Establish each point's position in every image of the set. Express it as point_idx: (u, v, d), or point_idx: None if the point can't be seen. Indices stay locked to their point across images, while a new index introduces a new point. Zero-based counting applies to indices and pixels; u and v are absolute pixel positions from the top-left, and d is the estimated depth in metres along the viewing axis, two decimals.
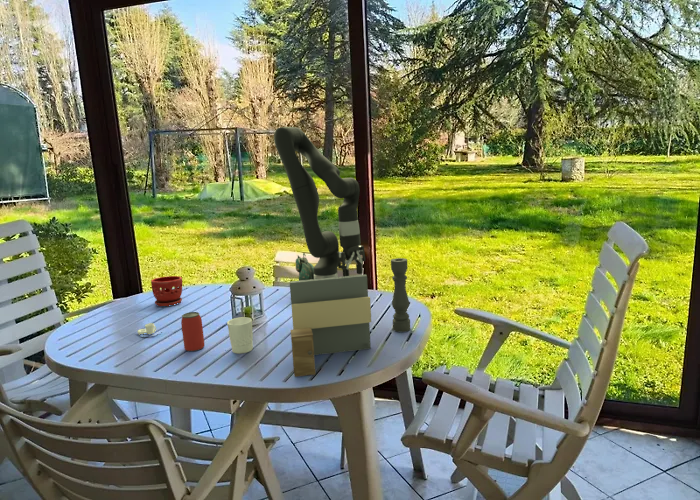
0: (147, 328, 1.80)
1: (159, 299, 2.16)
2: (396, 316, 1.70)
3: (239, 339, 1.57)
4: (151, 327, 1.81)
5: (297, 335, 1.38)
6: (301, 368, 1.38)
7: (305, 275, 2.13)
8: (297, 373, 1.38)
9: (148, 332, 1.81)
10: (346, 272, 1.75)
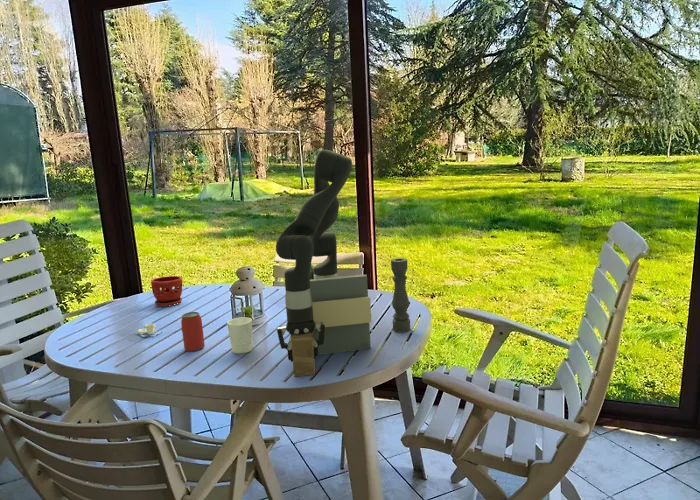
0: (147, 328, 1.81)
1: (159, 299, 2.16)
2: (396, 316, 1.70)
3: (239, 339, 1.57)
4: (151, 327, 1.81)
5: (297, 335, 1.38)
6: (301, 368, 1.38)
7: None
8: (297, 373, 1.38)
9: (148, 332, 1.81)
10: None
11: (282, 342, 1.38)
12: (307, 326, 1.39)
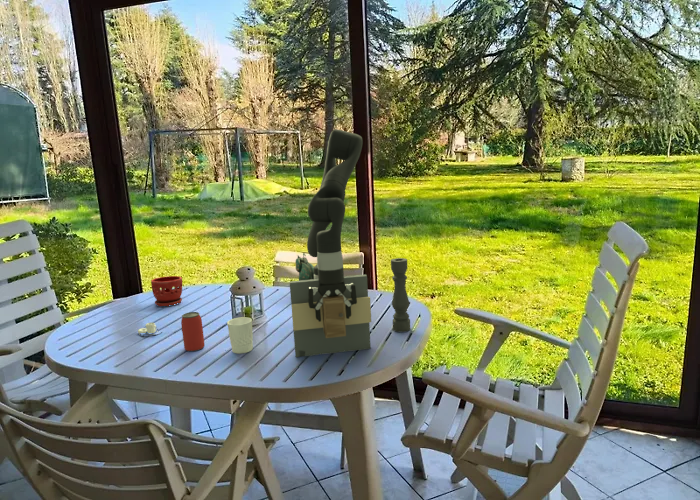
0: (147, 327, 1.81)
1: (159, 299, 2.16)
2: (396, 316, 1.70)
3: (239, 339, 1.57)
4: (151, 327, 1.81)
5: (329, 298, 1.41)
6: (332, 330, 1.43)
7: (305, 275, 2.13)
8: (328, 334, 1.43)
9: (148, 331, 1.81)
10: None
11: (311, 302, 1.42)
12: (338, 288, 1.43)
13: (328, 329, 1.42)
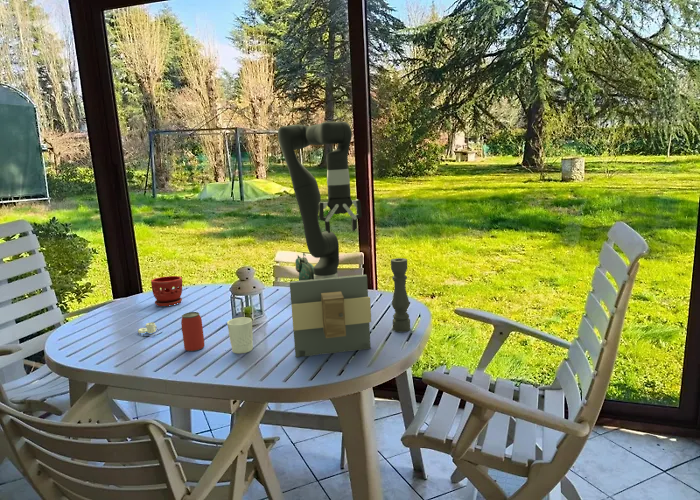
0: (148, 327, 1.81)
1: (159, 299, 2.16)
2: (396, 316, 1.70)
3: (239, 339, 1.57)
4: (151, 326, 1.82)
5: (329, 298, 1.41)
6: (332, 330, 1.43)
7: (305, 275, 2.13)
8: (328, 334, 1.43)
9: (149, 331, 1.82)
10: None
11: (322, 214, 1.62)
12: (345, 202, 1.62)
13: (328, 329, 1.42)
